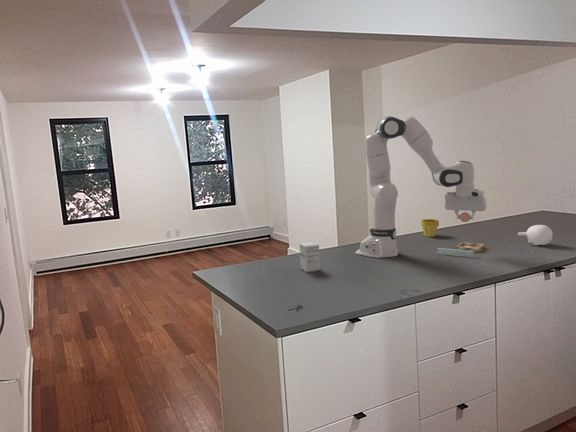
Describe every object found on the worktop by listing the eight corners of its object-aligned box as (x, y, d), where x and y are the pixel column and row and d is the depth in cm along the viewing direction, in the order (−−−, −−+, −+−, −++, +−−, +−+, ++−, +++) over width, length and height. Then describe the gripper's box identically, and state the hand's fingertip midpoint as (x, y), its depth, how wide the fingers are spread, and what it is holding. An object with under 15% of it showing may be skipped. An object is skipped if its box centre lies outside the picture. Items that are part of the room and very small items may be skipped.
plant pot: (431, 233, 301) (431, 218, 300) (442, 236, 292) (442, 220, 290) (417, 235, 298) (417, 220, 296) (428, 238, 288) (428, 222, 287)
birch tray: (455, 250, 255) (455, 246, 255) (462, 245, 265) (462, 242, 265) (479, 252, 248) (479, 248, 248) (485, 247, 258) (485, 244, 258)
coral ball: (458, 222, 247) (458, 213, 246) (461, 220, 251) (461, 211, 250) (468, 223, 244) (468, 213, 243) (471, 221, 248) (471, 211, 247)
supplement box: (300, 268, 233) (299, 243, 231) (314, 266, 235) (313, 241, 233) (306, 272, 226) (305, 246, 224) (320, 270, 229) (319, 244, 227)
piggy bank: (555, 249, 255) (529, 246, 268) (558, 227, 256) (532, 225, 269) (541, 245, 249) (515, 242, 262) (544, 223, 250) (518, 221, 263)
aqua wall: (437, 253, 250) (437, 248, 249) (437, 253, 251) (437, 247, 250) (472, 257, 239) (473, 251, 239) (473, 257, 240) (473, 251, 240)
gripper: (442, 192, 249) (443, 218, 251) (483, 193, 236) (483, 220, 239) (446, 191, 254) (447, 217, 256) (487, 191, 241) (487, 218, 244)
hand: (465, 218), depth 247 cm, fingers closed on coral ball, 5 cm apart
